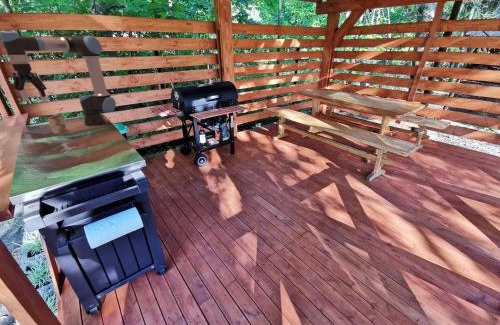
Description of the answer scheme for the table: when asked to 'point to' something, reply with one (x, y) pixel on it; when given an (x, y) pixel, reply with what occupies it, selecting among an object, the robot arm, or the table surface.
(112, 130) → the table surface
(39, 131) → the mat
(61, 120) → the slab
